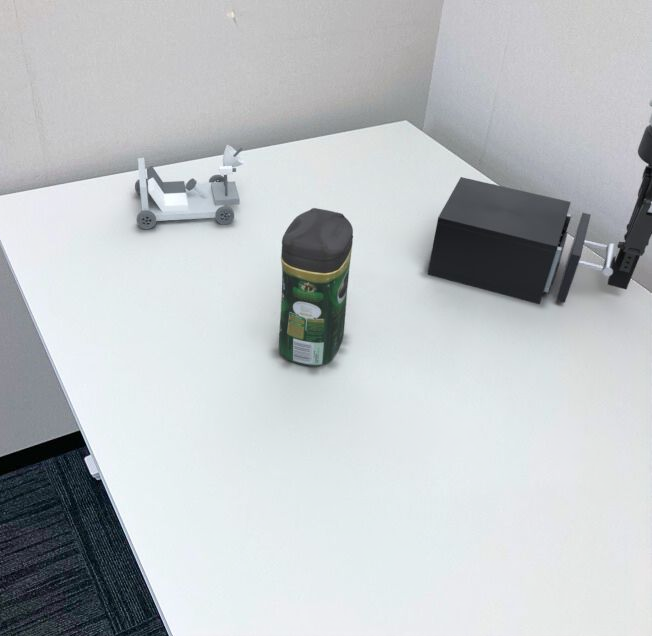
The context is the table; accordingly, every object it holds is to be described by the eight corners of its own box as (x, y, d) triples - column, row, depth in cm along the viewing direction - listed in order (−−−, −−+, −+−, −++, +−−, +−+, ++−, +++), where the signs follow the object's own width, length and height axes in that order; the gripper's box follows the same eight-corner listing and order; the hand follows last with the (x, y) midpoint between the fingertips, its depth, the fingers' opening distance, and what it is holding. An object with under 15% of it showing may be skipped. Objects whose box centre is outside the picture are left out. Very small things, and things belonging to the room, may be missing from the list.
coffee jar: (293, 317, 103) (299, 197, 91) (348, 330, 101) (362, 209, 89) (269, 361, 96) (272, 236, 84) (328, 375, 94) (340, 251, 82)
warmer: (553, 257, 118) (570, 201, 112) (539, 304, 108) (557, 246, 102) (449, 231, 122) (460, 176, 116) (427, 274, 112) (438, 217, 106)
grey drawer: (608, 267, 115) (625, 222, 110) (599, 312, 106) (617, 265, 101) (476, 234, 120) (487, 190, 115) (458, 274, 111) (468, 228, 106)
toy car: (240, 135, 124) (251, 167, 115) (241, 188, 130) (250, 223, 121) (129, 139, 120) (131, 173, 112) (135, 194, 127) (137, 230, 118)
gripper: (649, 106, 99) (595, 255, 115) (643, 145, 90) (585, 301, 106) (709, 118, 97) (646, 268, 113) (709, 158, 88) (640, 316, 104)
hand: (617, 284), depth 109 cm, fingers closed
